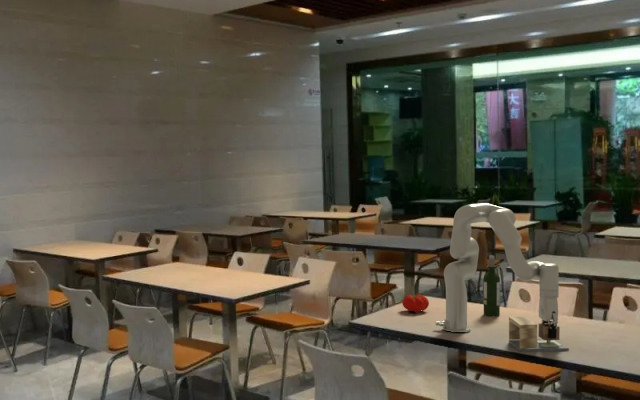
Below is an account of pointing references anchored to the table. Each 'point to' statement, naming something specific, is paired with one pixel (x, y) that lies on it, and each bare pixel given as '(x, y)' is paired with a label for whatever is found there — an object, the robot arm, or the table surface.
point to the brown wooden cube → (544, 331)
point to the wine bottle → (491, 290)
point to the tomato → (415, 302)
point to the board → (541, 346)
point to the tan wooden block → (523, 331)
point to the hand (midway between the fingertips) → (549, 335)
